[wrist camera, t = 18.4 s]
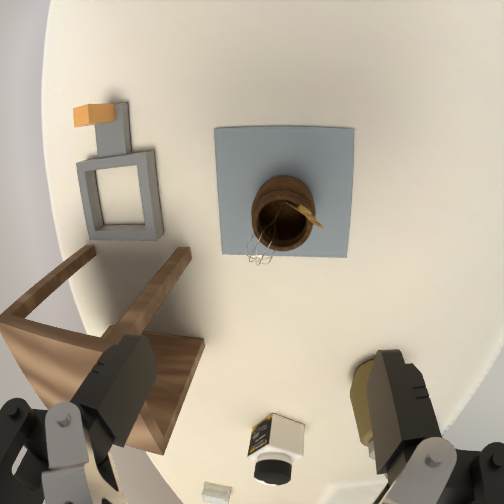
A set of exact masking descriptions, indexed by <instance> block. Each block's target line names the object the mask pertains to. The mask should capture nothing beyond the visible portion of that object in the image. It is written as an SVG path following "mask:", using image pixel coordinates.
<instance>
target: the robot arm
mask: <svg viewBox="0 0 504 504" xmlns="http://www.w3.org/2000/svg"><path fill="white" fill-rule="evenodd" d="M156 377H157V364H156V361H155V358H154V355H153V352H152V349H151V346H150V342H149V339H148V338H147V337H146V336H143V335H136V334H130V333H127V334H125V335H124V336H123V338H122V339H121V341H120V342H119V344H118V345H115V344H114V345H112V346H111V347H110V348H108V349H107V350H106V351H104V352H103V353H102V355H101V356H100V358H99V359H98V361H97V364H95V365H94V366H93V368H92V369H91V372H89V374H88V375H87V377H86V378H85V380H84V381H83V382H82V384H81V385H80V387H79V388H78V390H77V391H76V393H75V394H74V396H73V397H72V399H71V400H70V402H61V403H58V404H55V405H54V406H52V407H51V408H50V409H49V410H38V409H31V408H30V406H29V405H28V404H27V402H26V401H25V400H24V399H21V398H13V399H11V400H9V401H7V402H6V403H5V404H4V405H3V407H2V408H1V410H0V504H42V503H43V501H44V499H45V502H46V504H130V502H129V501H128V500H127V498H126V496H125V494H124V492H123V489H122V486H121V483H120V481H119V477H118V474H117V471H116V468H115V465H114V461H113V458H112V454H111V452H110V448H111V446H112V444H114V445H117V446H120V447H124V445H125V443H126V441H127V439H128V437H129V435H130V432H131V430H132V428H133V426H134V424H135V422H136V420H137V418H138V416H139V413H140V411H141V409H142V407H143V405H144V403H145V401H146V399H147V397H148V395H149V393H150V391H151V388H152V386H153V384H154V382H155V380H156ZM367 400H368V406H369V413H370V420H371V427H372V435H373V443H374V451H375V460H376V470H377V474H385V473H387V477H388V482H387V483H386V485H385V486H384V487H383V489H382V490H381V492H380V493H379V494H378V496H377V497H376V498H375V500H374V501H373V502H372V504H504V444H503V443H500V442H494V443H491V444H489V445H487V446H486V447H485V448H484V449H483V450H482V451H467V450H458V449H455V448H454V446H453V445H452V444H451V443H450V442H449V441H448V440H446V439H444V438H442V436H441V433H440V430H439V426H438V423H437V419H436V416H435V413H434V409H433V406H432V403H431V400H430V398H429V394H428V391H427V388H426V385H425V382H424V379H423V376H422V373H421V372H420V371H419V370H418V369H417V368H416V367H415V365H414V364H413V363H411V364H405V362H404V359H403V356H402V353H401V351H400V350H399V349H395V350H378V351H377V353H376V356H375V359H374V363H373V366H372V369H371V372H370V375H369V378H368V382H367ZM22 446H25V448H27V452H26V454H25V456H24V457H23V459H22V461H21V463H20V465H19V467H18V469H17V471H16V473H15V475H13V474H12V465H13V463H14V461H15V460H16V458H17V456H18V454H19V452H20V450H21V448H22Z"/></svg>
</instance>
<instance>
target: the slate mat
mask: <svg viewBox="0 0 504 504" xmlns="http://www.w3.org/2000/svg"><path fill="white" fill-rule="evenodd" d="M214 136H215V154H216V171H217V187H218V202H219V216H220V230H221V243H222V254H231V255H246V254H247V255H251V252H253V253H252V254H253V255H256V250H257V255H261V254H262V253H263V252H264V251H265V249H267V250H266V251H265V253H263V254H264V255H266V256H272V255H273V252H275V250H272V249H269V248H267V247H266V246H264V245H263V244H262V243H261V242H259V244H258V241H259V240H258V239H257V238H256V236H254V235H255V234H254V233H253V228H252V218H251V208H252V204H253V201H254V198H255V196H256V194H257V192H258V190H259V189H260V187H261V186H262V185H263V184H264V183H265V182H266V181H267V180H269V179H271V178H273V177H276V176H280V175H288V176H293V177H296V178H298V179H300V180H301V181H302V182H304V183H305V184H306V185H307V187H308V188H309V189H310V191H311V193H312V196H313V199H314V204H315V211H316V215H315V217H316V218H317V220H318V222H319V223H320V224H322V226H323V227H324V228H320V227H319V226H317V225H315V224H314V225H313V228H312V231H311V233H310V235H309V237H308V239H307V240H306V241H305V242H304V243H303V244H302V245H301V246H300V247H298V248H296V249H293V250H290V251H276V252H275V254H274V255H273V256H302V257H339V258H347V249H348V239H349V228H350V215H351V201H352V184H353V161H354V129H348V128H330V127H300V126H264V127H233V128H216V129H214ZM252 234H253V235H252ZM251 236H252V237H253V236H254V237H253V238H252V237H251ZM250 238H252V239H251V240H250ZM249 240H250V242H249ZM248 242H249V243H248ZM247 244H248V245H247ZM257 244H258V248H257V246H256V245H257ZM246 246H247V247H246ZM249 246H250V249H249ZM255 247H256V248H255ZM245 248H246V250H245ZM254 248H255V249H254ZM250 250H251V252H250ZM253 250H254V251H253ZM245 252H246V254H245ZM263 254H262V255H263Z"/></svg>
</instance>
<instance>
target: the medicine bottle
mask: <svg viewBox="0 0 504 504" xmlns="http://www.w3.org/2000/svg"><path fill="white" fill-rule="evenodd" d="M303 450H304V425H303V424H300V423H298V422H295V421H292V420H289V419H287V418H284V417H281V416H279V415H276V414H273V413H272V414H270V415H269V416H268V417H267V418H265V419H264V420H263V421H261V422H260V423H259V424H258V425H256V426H255V427H254V428H253V429H252V434H251V440H250V445H249V451H248V456H247V458H248V459H251V460H254V461H256V466H255V472H254V478H255V480H256V481H258V482H260V483H262V484H265V485H282V484H286V483H288V482H289V481H290V479H291V469H292V462H294V461H296V460H297V459H299V458H301V457H303Z"/></svg>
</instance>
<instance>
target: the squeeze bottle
mask: <svg viewBox="0 0 504 504" xmlns="http://www.w3.org/2000/svg"><path fill="white" fill-rule="evenodd" d="M373 363H374V360H370V361H368V362H366V363H364V364H362V365H361V366H360V367H359V368H358V369H357V371H356V373H355V375H354V379H353V382H352V386H351V389H350V398H351V402H352V407H353V411H354V415H355V419H356V423H357V428H358V432H359V437H360V441H361V443H362V444H363V445H365V446H367V447H368V448H369V457H371V458H372V459H375V451H374V443H373V435H372V427H371V420H370V413H369V406H368V400H367V382H368V378H369V375H370V372H371V369H372V366H373ZM385 477H386V478H387V479H388V477H387V473H385Z"/></svg>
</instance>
